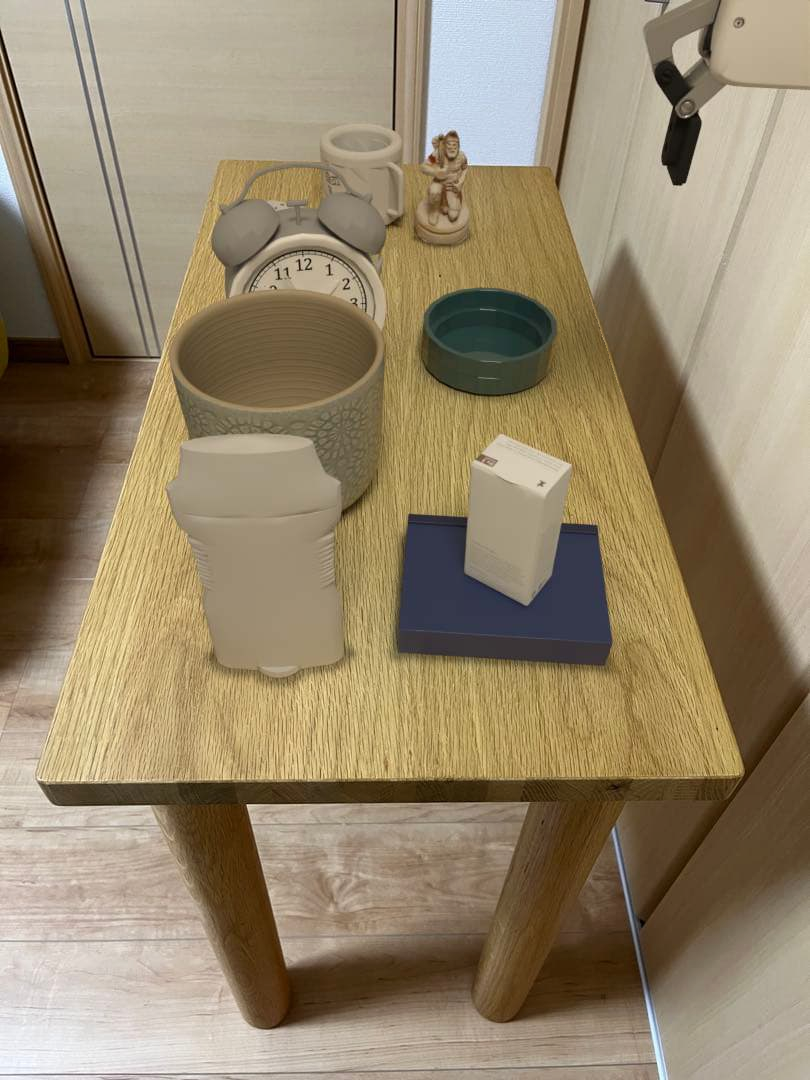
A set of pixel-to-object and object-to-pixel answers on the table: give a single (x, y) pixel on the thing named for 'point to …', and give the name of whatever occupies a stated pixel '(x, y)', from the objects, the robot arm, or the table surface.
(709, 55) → the robot arm
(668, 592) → the table surface
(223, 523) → the deodorant stick
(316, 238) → the alarm clock
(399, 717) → the table surface
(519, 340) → the bowl
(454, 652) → the book
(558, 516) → the cosmetic box
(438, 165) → the figurine
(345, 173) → the mug
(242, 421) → the planter
